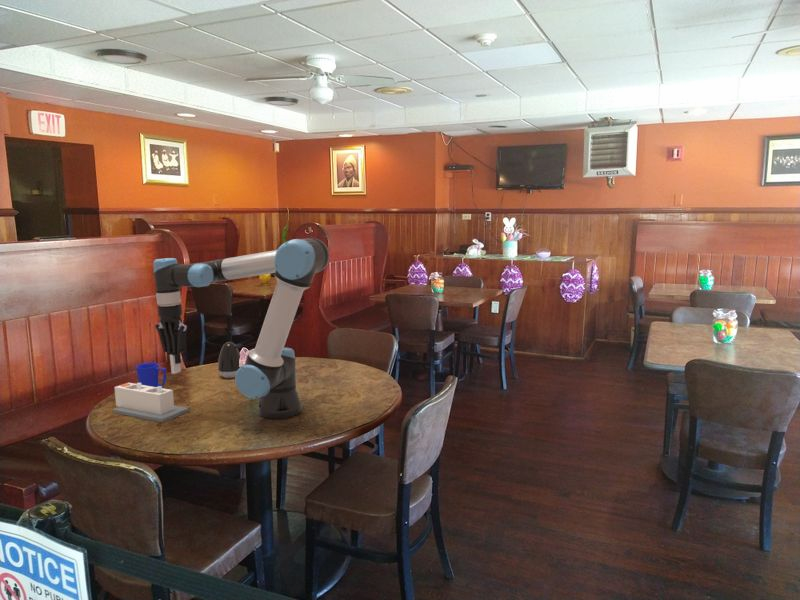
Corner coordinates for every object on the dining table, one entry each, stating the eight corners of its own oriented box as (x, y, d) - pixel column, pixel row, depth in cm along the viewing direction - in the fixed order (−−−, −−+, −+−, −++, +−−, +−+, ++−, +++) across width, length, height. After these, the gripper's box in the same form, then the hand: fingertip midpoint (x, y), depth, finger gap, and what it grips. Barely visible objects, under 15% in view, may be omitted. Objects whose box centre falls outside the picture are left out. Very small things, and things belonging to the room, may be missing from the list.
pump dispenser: (239, 380, 241) (237, 344, 239) (215, 380, 241) (213, 344, 239) (246, 373, 251) (244, 339, 249) (222, 373, 251) (220, 339, 249)
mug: (160, 393, 223) (158, 369, 222) (133, 392, 226) (131, 367, 224) (173, 387, 231) (171, 363, 230) (146, 385, 234) (144, 362, 232)
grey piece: (189, 411, 204) (187, 384, 202) (162, 422, 193) (160, 394, 191) (140, 402, 214) (138, 376, 212) (112, 412, 203) (110, 385, 201)
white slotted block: (174, 409, 202) (172, 388, 201) (160, 414, 197) (159, 393, 196) (130, 400, 212) (128, 381, 210) (116, 405, 206) (114, 386, 205)
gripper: (192, 303, 192) (198, 371, 196) (164, 302, 198) (170, 368, 201) (175, 306, 186) (182, 377, 189) (146, 305, 191) (153, 373, 195)
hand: (176, 372), depth 195 cm, fingers closed
